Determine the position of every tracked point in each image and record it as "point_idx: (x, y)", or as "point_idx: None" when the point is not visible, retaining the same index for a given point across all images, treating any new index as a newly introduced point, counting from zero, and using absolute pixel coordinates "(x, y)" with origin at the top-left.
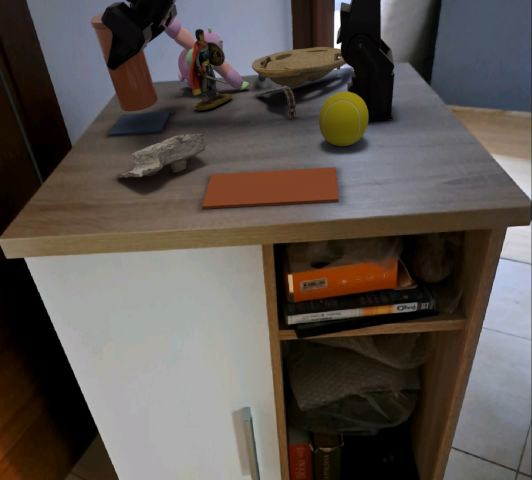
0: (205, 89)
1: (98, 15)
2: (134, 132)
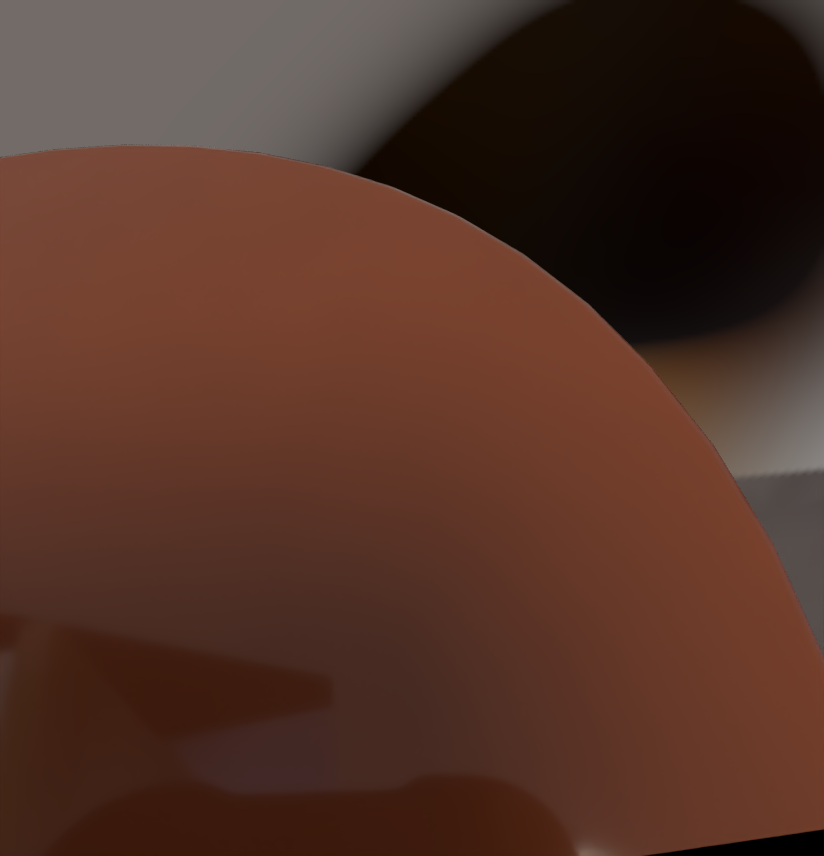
0: None
1: (252, 207)
2: None
